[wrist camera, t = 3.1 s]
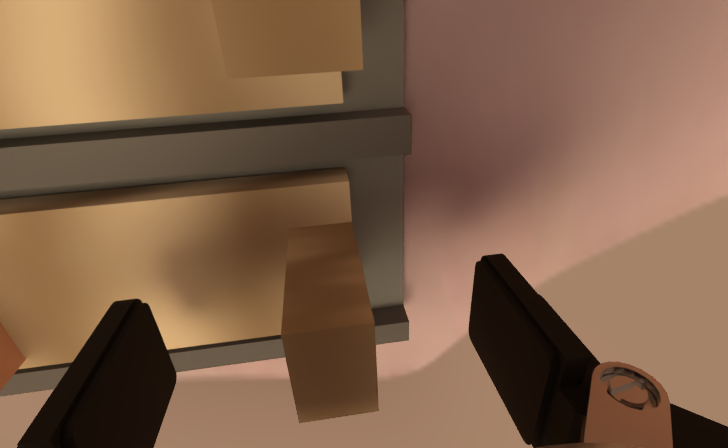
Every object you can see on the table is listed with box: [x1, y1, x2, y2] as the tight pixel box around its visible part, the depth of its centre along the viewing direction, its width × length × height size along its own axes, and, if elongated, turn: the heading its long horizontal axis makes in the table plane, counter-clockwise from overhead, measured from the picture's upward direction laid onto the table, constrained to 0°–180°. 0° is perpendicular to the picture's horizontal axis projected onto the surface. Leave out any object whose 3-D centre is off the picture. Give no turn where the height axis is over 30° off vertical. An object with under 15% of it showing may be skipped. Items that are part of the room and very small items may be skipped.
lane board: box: [0, 0, 412, 396], centre depth 11 cm, size 23×17×2 cm
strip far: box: [0, 167, 379, 423], centre depth 11 cm, size 18×6×6 cm, turn 93°
